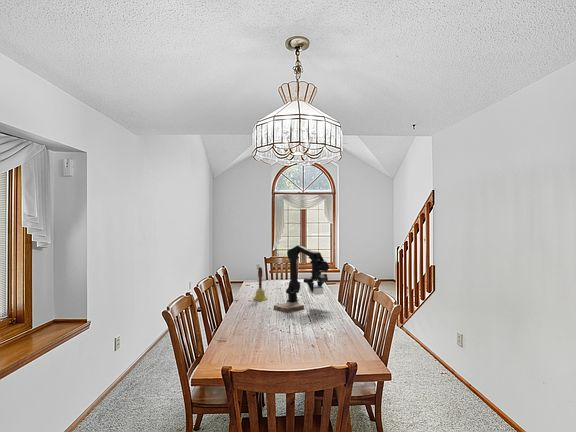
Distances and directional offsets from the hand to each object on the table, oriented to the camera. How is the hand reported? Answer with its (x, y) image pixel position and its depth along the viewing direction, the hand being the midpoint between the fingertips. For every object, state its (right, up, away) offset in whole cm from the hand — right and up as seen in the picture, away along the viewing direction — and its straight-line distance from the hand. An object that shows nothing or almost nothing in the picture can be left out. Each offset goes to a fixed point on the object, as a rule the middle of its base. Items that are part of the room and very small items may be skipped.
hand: (315, 291), depth 280 cm
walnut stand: (-19, -11, -6) cm, 23 cm away
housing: (0, -1, 0) cm, 1 cm away
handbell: (-42, -11, +27) cm, 51 cm away
